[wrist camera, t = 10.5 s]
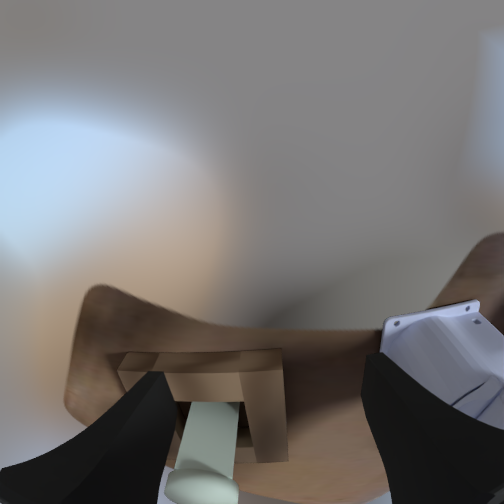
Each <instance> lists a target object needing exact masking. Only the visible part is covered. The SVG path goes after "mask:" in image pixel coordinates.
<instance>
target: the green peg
mask: <svg viewBox="0 0 504 504" xmlns="http://www.w3.org/2000/svg"><path fill="white" fill-rule="evenodd" d="M239 407H240V402H192V403H191V407H190V411H189V414H188V418H187V422H186V426H185V429H184V433H183V437H182V441H181V444H180V448H179V452H178V456H177V460H176V464H175V467H174V469H175V470H174V471H172V472H170V474H169V475H168V480H167V483H166V487H165V491H164V493H165V495H166V497H167V498H168V499H170V500H171V501H173V502H175V503H177V504H238V493H239V486H238V484H237V483H236V482H235V481H234V480H232V477H233V467H234V457H235V447H236V437H237V427H238V417H239Z"/></svg>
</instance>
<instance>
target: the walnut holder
mask: <svg viewBox="0 0 504 504" xmlns="http://www.w3.org/2000/svg"><path fill="white" fill-rule="evenodd" d="M148 371H164V374H165V377H166V380H167V382H168V385H169V387H170V390H171V393H172V395H173V398H174V400H175V403H176V405H177V407H178V411H177V419H176V426H175V432H174V435H173V439H172V442H171V446H170V449H169V453H168V456H167V459H171V460H177V456H178V452H179V448H180V444H181V441H182V437H183V433H184V429H185V426H186V421H185V419H184V416H183V414H182V411H181V409H180V406H179V404H178V401H188V402H240V401H244V403H245V408H246V413H247V418H248V423H249V427H244V428H237V437H236V447H235V457H234V463H270V462H286V461H289V459H288V441H287V424H286V408H285V393H284V379H283V365H282V351H281V348H277V349H264V350H250V351H231V352H204V353H142V352H128V353H127V354H126V356H125V358H124V359H123V361H122V362H121V364H120V366H119V367H118V369H117V372H118V375H119V377H120V379H121V381H122V383H123V385H124V388H125V390H126V392H128V391H129V390H130V389H131V388H132V387H133V386H134V385H135V384H136V383H137V382H138V381H139V380H140V379H141V378H142V377H143V376H144V375H145V374H146V373H147V372H148Z"/></svg>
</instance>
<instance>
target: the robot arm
mask: <svg viewBox="0 0 504 504" xmlns="http://www.w3.org/2000/svg"><path fill="white" fill-rule="evenodd" d="M479 306H480V302H479V301H478V300H471V301H467V302H463V303H458V304H454V305H449V306H444V307H440V308H435V309H430V310H425V311H420V312H414V313H409V314H403V315H398V316H392V317H388V318H387V319H385V321H384V323H383V331H382V339H381V346H380V353H375V354H370V355H367V356H366V363H365V370H364V377H363V384H362V390H361V398H362V402H363V407H364V411H365V415H366V418H367V421H368V424H369V426H370V429H371V432H372V434H373V437H374V440H375V442H376V445H377V448H378V450H379V453H380V456H381V458H382V461H383V464H384V467H385V470H386V474H387V478H388V483H389V488H390V492H391V499H392V504H504V335H503V334H501V333H500V332H499V331H498V330H497V329H496V328H495V327H494V326H493V325H492V324H491V323H490V322H489V321H488V320H487V319H486V318H485V317H483V316H482V315H481V314H480V313H479V312H478V311H479ZM466 307H467V308H466ZM396 321H398V322H397V323H396V324H394V323H395V322H396ZM177 411H178V407H177V405H176V403H175V400H174V398H173V395H172V393H171V390H170V387H169V385H168V382H167V380H166V377H165V374H164V371H148V372H147V373H146V374H145V375H144V376H143V377H142V378H141V379H140V380H139V381H138V382H137V383H136V384H135V385H134V386H133V387H132V388H131V389H130V390H129V391H128V392H127V393H126V394H125V395H124V396H123V397H122V398H121V399H120V400H118V401H117V402H116V403H115V404H114V405H113V406H112V407H111V408H110V409H109V410H108V411H107V412H105V413H104V414H103V415H102V416H101V417H100V418H99V419H97V420H96V421H95V422H94V423H93V424H91V425H90V426H89V427H88V428H86V429H85V430H84V431H82V432H81V433H79V434H78V435H76V436H75V437H74V438H72V439H70V440H69V441H67V442H66V443H64V444H62V445H60V446H58V447H57V448H55V449H53V450H51V451H49V452H47V453H45V454H43V455H41V456H39V457H36V458H34V459H31V460H28V461H26V462H23V463H19V464H16V465H12V466H9V467H5V468H2V469H1V471H0V503H2V504H157V500H158V493H159V486H160V482H161V477H162V474H163V470H164V467H165V463H166V460H167V456H168V453H169V449H170V446H171V442H172V439H173V435H174V432H175V426H176V419H177Z"/></svg>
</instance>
